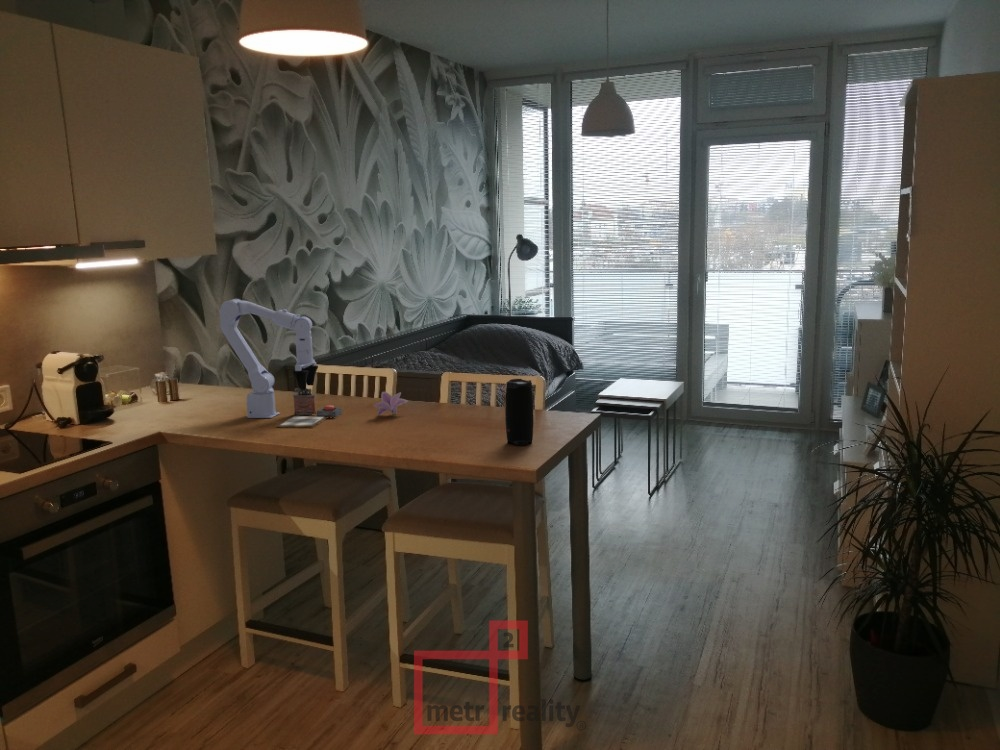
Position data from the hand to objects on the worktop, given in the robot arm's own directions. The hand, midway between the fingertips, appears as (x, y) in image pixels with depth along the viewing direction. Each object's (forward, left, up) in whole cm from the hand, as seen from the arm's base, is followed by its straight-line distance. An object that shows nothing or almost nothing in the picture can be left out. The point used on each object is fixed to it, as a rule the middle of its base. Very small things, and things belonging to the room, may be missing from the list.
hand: (306, 387), depth 287 cm
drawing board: (+3, -13, -10) cm, 17 cm away
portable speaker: (+82, -37, -11) cm, 90 cm away
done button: (+9, -2, -8) cm, 12 cm away
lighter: (-1, 0, -11) cm, 11 cm away
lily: (+32, -2, -11) cm, 33 cm away
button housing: (+9, -2, -10) cm, 14 cm away
